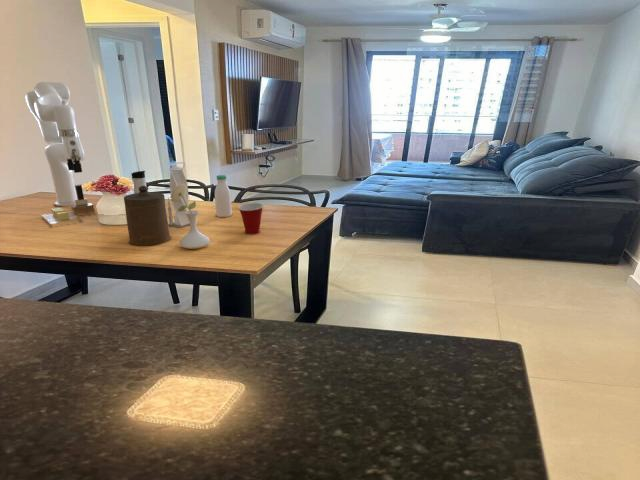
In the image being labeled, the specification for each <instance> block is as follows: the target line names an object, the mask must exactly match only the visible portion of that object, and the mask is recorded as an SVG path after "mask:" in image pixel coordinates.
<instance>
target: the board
mask: <svg viewBox="0 0 640 480" xmlns="http://www.w3.org/2000/svg"><path fill="white" fill-rule="evenodd" d="M65 212H68V215H69V219H65V220H58V218H56V217H55V216H54V215H53V213H52V212H51V213H46V214H41V217H42V218H44V219H45V220H46V221H47V222H48V223H49V224H50V225H54V224H61V223H67V222H71V221H72V222H74V221H78V220H82V218H81V217H79V216H78V214H77V215H74V214H73V213H72V210H67V211H66V210H65Z"/></svg>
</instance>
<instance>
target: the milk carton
mask: <svg viewBox="0 0 640 480" xmlns="http://www.w3.org/2000/svg"><path fill="white" fill-rule="evenodd" d="M178 164H182V167H181V166H180V165H179V166H177V165H178ZM185 165H186V163H185V162H184V161H181V162H180V161H178V162H175V163H173V164H172V166H171V168H170V169H169V172H170V174H169V193H170V196H171V195H172V194H173V190H175V189H176V187H177V186H178V185H180V186H181V184H184V186H185V185H186V186H187V190H186V193H185V195H184V196H183V197H184V199H185V201H186V204H187V206H189V186H188V181H187V178H186V175H185V171H184V169H185ZM171 199H172V198H170V197H167V200H168V201H167V205H168V207H167V211H168V227H169V226H170V227H174V228H178V229H180V228H183V227H186V226H187V227H188V226H190V221H189V218H188V216H187V215H186V214H185V212H186V211H188V208H187V207H186V208H185V209H184V210H183V211H178V209H179V208H180V207H181V206H183V205H185V206H186V204H185V201H184V199H183V198H181V199H180V200H178V201H176V202H175V201H171V202H172V206H173V210H174V213H175V215H174V217H173V213H172V212H173V210H172V207H171V202H170V200H171Z"/></svg>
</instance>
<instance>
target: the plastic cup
mask: <svg viewBox="0 0 640 480" xmlns="http://www.w3.org/2000/svg"><path fill="white" fill-rule="evenodd" d="M263 208H264V204H263V203H260V202H251V203H244V204H241V205H239V206H237V209H238V210H239V212H240V215H241V218H242V224H243V227H244V231H245V234H249V235H255V234H258V233H260V229H261V223H262V222H261V221H262V213H263Z"/></svg>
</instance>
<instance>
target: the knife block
mask: <svg viewBox="0 0 640 480" xmlns="http://www.w3.org/2000/svg"><path fill="white" fill-rule="evenodd" d="M87 203H88V202H87ZM70 211H71V212H72V213H73V214H74V215H77V216H78V215H83V214H90V213H95V207H94V204H93V203H91V202H89V203H88V205H84V206H77V207H76V204H75V205H70Z"/></svg>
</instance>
